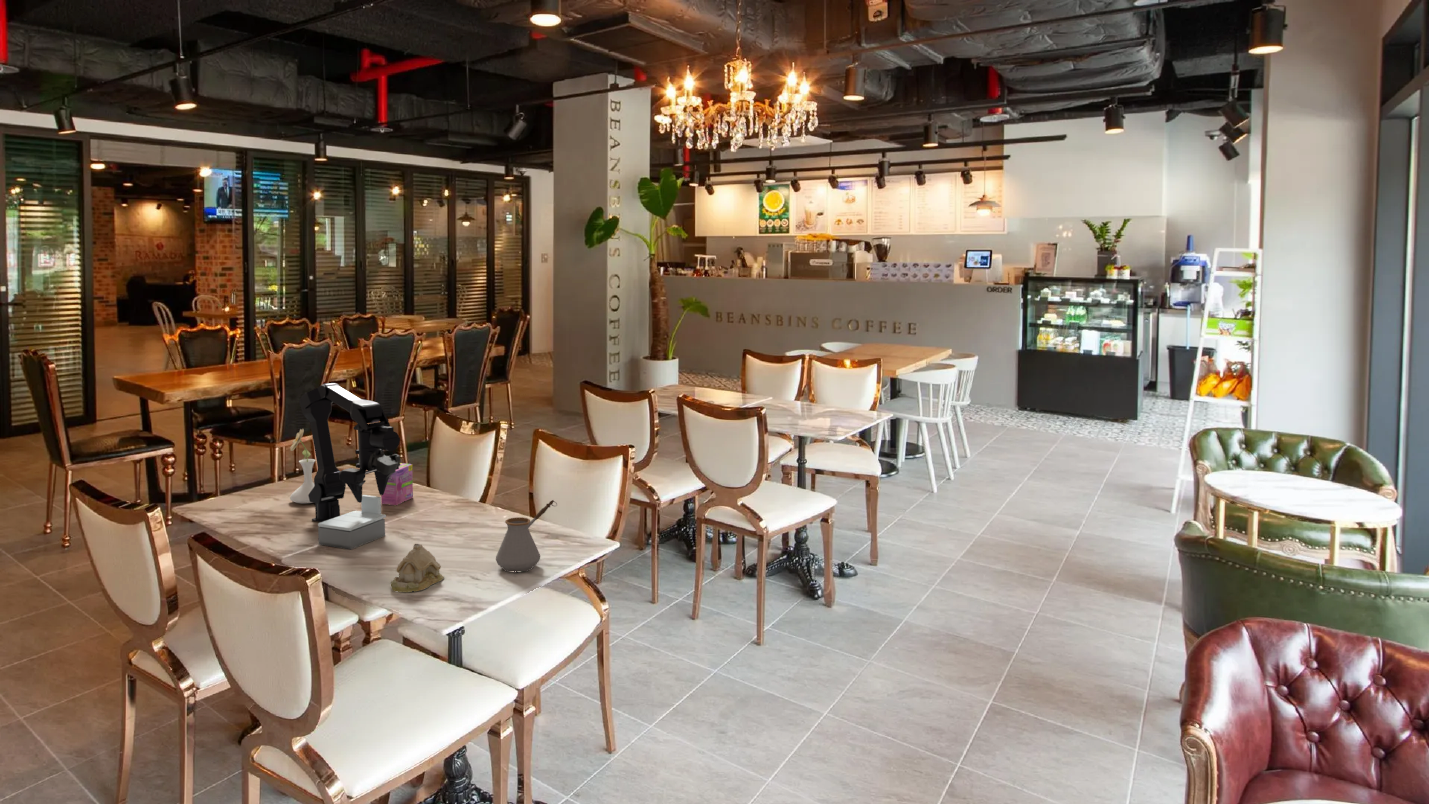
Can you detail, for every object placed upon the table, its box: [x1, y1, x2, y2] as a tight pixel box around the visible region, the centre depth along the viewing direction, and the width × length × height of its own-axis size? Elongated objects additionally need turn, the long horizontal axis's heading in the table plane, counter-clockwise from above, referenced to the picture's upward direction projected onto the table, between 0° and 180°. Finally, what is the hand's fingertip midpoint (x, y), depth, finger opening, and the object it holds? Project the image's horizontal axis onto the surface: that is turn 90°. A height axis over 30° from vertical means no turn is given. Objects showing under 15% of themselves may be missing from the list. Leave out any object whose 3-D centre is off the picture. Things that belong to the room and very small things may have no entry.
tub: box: [317, 518, 386, 550], centre depth 250 cm, size 11×14×5 cm
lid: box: [317, 494, 387, 531], centre depth 250 cm, size 11×16×6 cm
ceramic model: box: [390, 543, 445, 593], centre depth 218 cm, size 14×11×10 cm
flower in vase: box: [289, 428, 317, 504], centre depth 286 cm, size 13×11×25 cm
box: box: [380, 462, 414, 506], centre depth 291 cm, size 10×6×12 cm, turn 168°
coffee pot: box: [495, 499, 558, 573], centre depth 234 cm, size 21×12×15 cm, turn 153°
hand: (370, 498), depth 256 cm, fingers open, 9 cm apart
